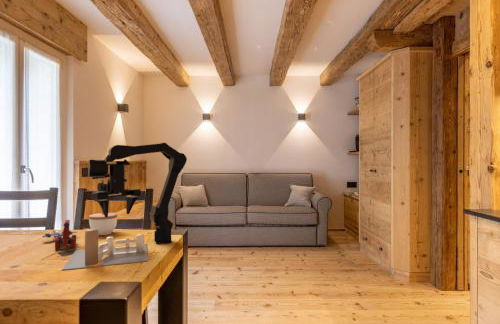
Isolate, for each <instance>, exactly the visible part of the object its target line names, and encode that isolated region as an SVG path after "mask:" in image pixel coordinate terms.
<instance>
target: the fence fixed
mask: <svg viewBox="0 0 500 324" xmlns="http://www.w3.org/2000/svg"><path fill="white" fill-rule="evenodd" d="M114 239H115V238H114V236H107V237H106V242H109V246H106V247H107V249H109V253H107V255H113V254H114V247H115V246H114V245H119V244H120V245H121V244H125V245H122V246H123V247H115V251H122V250H126V252H129V250H132V249H136V252H144V244H145V234H143V233H139V234H136V235H135V238H130V237H125V239H116V240H114ZM114 242H115V243H114ZM131 243H135V244H133V245H134V246H129V245H130V244H131Z"/></svg>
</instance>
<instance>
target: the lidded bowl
mask: <svg viewBox="0 0 500 324" xmlns="http://www.w3.org/2000/svg"><path fill="white" fill-rule="evenodd" d="M88 223H89V228H90V229H98V236H107V235H111V234H112V233H113V231H114V230H116V227H117V224H118V213H116V212H108V217H105V216H104V213H103V210H102V212H100V213H99V212H98V213H94V214H89V215H88Z"/></svg>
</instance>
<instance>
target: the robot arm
mask: <svg viewBox="0 0 500 324" xmlns="http://www.w3.org/2000/svg"><path fill="white" fill-rule="evenodd" d="M153 153H155V154H156V153H161V154H162V155H163V156H164V157H165V158H166V159H167V160H168V173H167V176H166V179H165V181H164V184H163V188H162V190H161V193H160V196H159V200H158V202H157V204H156V205H153V204H152V205H151V209H150V211H149V214H148V215H150V216H149V220H150V221H151V222H152V224H154V226H155V230H154V232H153V233H154V234H153V236H154V237H153V239H154V242H155V244H157V245H160V244H161V245H162V244H170V243H173V241H172V228H173V226H174V223H173V222H172V221H171V220H170V219H169V214H170V213H169V212H170V211H169V205H170V202H171V198H172V195H173V192H174V191H175V190H174V189H175V185H176V183H177V181H178V177H179V174H180V173H181V172H182V170H183V169H184V167H185V166H186V163H187V160H188V159H187V156H186V154H184V153H182V152H179V151H178V150H177V149H175V148H173V147H172V146H171V145H169V144H168V143H166V142H160V143H153V144H141V145H125V144H124V145H123V144H116V145H113V146H111V147H110V148H109V150H108V154H107V156H105V158H104V159H89V160H88V168H87V174H88V175H87V177H88V178H105V177H106V175H108V176H109V179H107V181H106V183H104V182H98V183H97V191H92V192H91V194H90V200H94V202H97V203H98V204H99V206H100V208H101V210H102V211H103V213H104V216H105V217H108V213H109V204H110V199H108V198H114V197H123V196H124V198H125V201H126V203H125V204H126V207H125V208H126V215H129V214H130V213H131V211H132V209H133V207H134V204H135V203H136V201H137V199H139V197H141V196H142V190H141V189H140V188H128V189H127V188H126V182H128V179H127V178H126V166H130V165H131V163H130V161H128V160H127V159H125V158H129V157H130V158H131V157H133V156H138V155H144V154H153ZM114 161H115V162H114ZM112 162H114V163H112Z"/></svg>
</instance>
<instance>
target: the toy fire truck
mask: <svg viewBox="0 0 500 324" xmlns="http://www.w3.org/2000/svg"><path fill="white" fill-rule="evenodd" d="M70 222H71V221H70V219H66V220H65V221H64V223H63V230H64V231H63V230H62V231H63V232H61V233H62V236H58V235H57V236H58V237H56V238H57V239H56V238H55V240H54V250H60V249H61V248H68V247H69V245H70V248H71V249H73V248H75V247H76V245H77V234H72V235H70V231H71V230H70Z"/></svg>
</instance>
